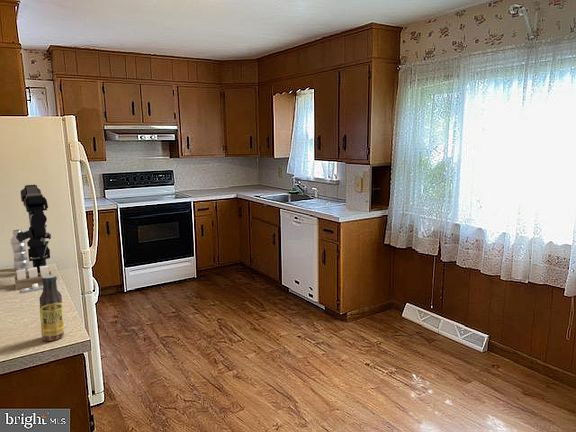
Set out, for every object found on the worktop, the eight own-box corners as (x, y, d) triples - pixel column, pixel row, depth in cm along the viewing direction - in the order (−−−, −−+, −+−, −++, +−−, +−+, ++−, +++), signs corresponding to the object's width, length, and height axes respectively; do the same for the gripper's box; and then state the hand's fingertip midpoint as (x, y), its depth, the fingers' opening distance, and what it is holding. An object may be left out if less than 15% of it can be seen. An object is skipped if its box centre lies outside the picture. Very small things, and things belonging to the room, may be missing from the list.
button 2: (40, 277, 192) (39, 266, 192) (49, 276, 194) (47, 265, 193) (41, 279, 190) (40, 268, 189) (49, 277, 192) (48, 266, 191)
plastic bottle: (24, 271, 211) (19, 231, 208) (11, 271, 211) (5, 231, 208) (32, 267, 218) (27, 228, 215) (19, 267, 218) (14, 229, 215)
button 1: (17, 281, 188) (16, 269, 187) (26, 279, 189) (25, 268, 189) (17, 282, 185) (16, 271, 184) (26, 281, 187) (25, 270, 186)
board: (15, 284, 190) (14, 276, 190) (51, 278, 198) (50, 271, 197) (16, 290, 182) (15, 282, 182) (53, 284, 190) (52, 276, 189)
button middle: (29, 279, 190) (28, 268, 189) (37, 277, 192) (36, 267, 191) (29, 280, 187) (28, 269, 187) (38, 279, 189) (36, 268, 188)
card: (21, 290, 182) (20, 285, 182) (48, 285, 187) (47, 280, 187) (21, 293, 178) (21, 287, 178) (49, 288, 184) (48, 283, 183)
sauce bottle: (43, 344, 130) (36, 280, 127) (41, 337, 135) (33, 276, 132) (67, 338, 134) (60, 276, 131) (64, 331, 139) (57, 272, 136)
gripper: (21, 222, 195) (25, 256, 197) (11, 228, 177) (15, 265, 179) (49, 220, 198) (53, 253, 201) (41, 225, 181) (45, 262, 183)
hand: (41, 258), depth 191 cm, fingers closed
